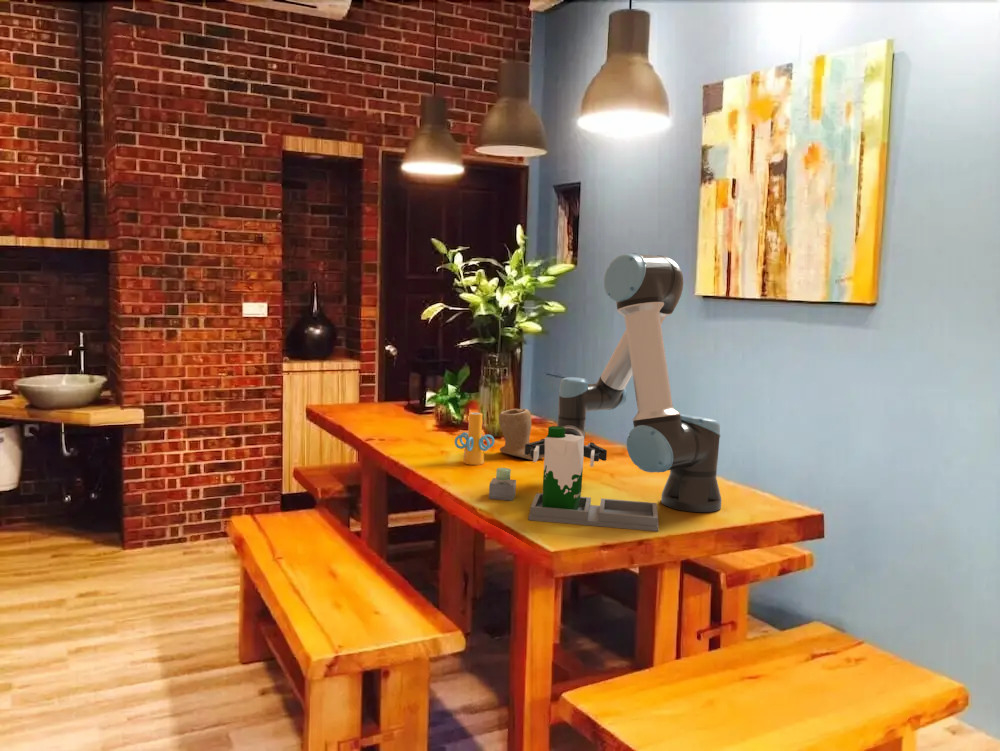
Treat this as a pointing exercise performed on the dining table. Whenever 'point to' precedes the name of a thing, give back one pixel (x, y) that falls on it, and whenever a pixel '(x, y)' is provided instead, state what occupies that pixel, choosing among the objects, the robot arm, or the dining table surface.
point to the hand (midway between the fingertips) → (563, 458)
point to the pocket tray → (600, 513)
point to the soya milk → (562, 469)
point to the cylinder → (474, 441)
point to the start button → (503, 474)
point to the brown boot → (516, 432)
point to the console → (502, 489)
